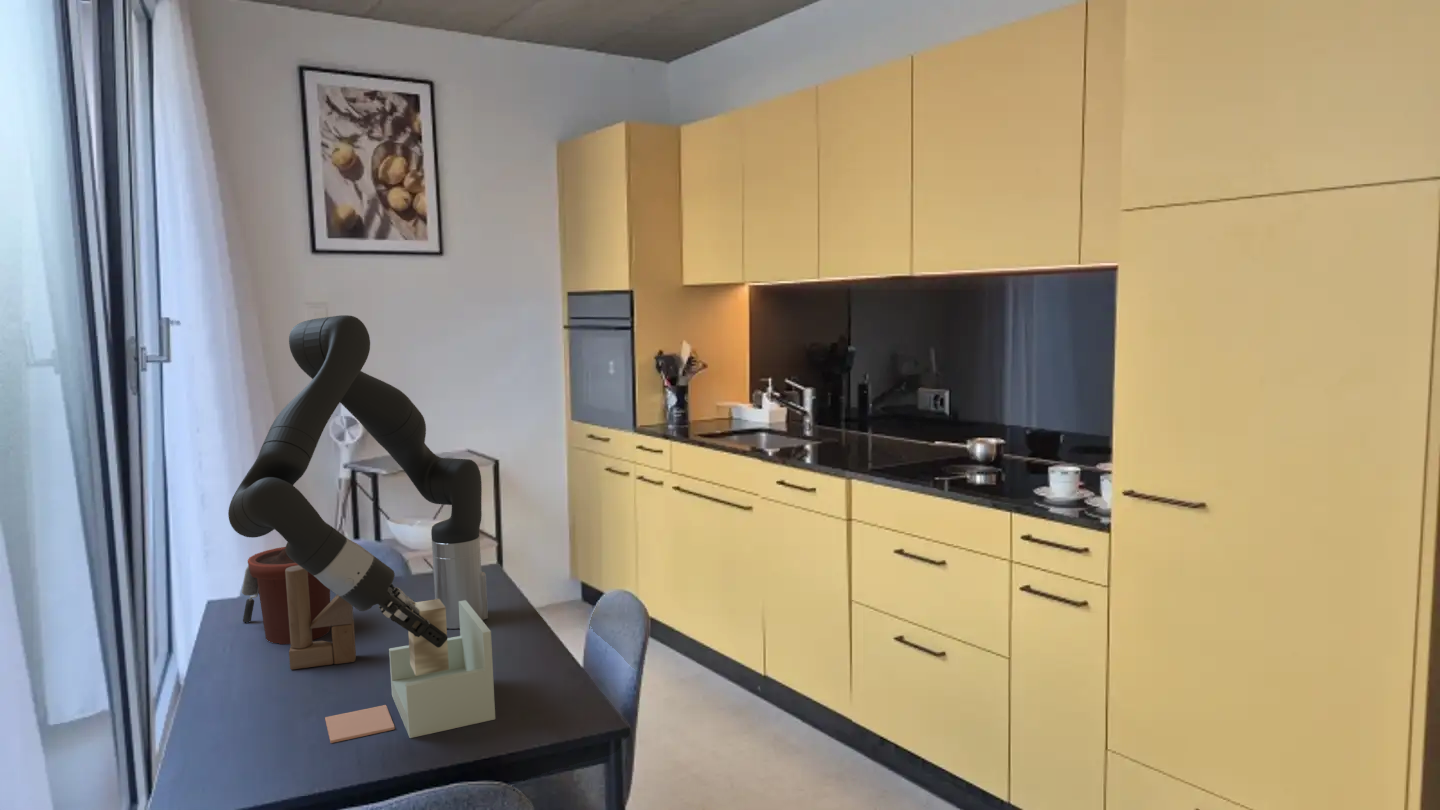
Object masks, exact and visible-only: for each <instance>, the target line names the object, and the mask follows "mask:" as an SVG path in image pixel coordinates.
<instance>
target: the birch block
mask: <svg viewBox="0 0 1440 810" xmlns="http://www.w3.org/2000/svg"><path fill="white" fill-rule="evenodd" d="M414 602H415V604H414V605H415V606H416V607H417V608H419V609H420V615H421V616H423V617H424V618H425V619H428V620H429V622H430V623H431V624H432V625H434V626H435V627H437V628H438V629H439V630H441V631H442V632H443V633H445V634H446V635H447V636H448V631H447V629H448V628H447V626H446V607H445V606H444V605H443V603H442V602H441V601H440V599H435V598H434V599H429V600H424V601H417V602H416V601H414ZM412 612H413V609H412ZM420 623H421V622H419V621H416V622H415V623H414V624H413V626H414V627H415V628H417V627H418V625H419V624H420ZM407 632H408V645H409V652H410V666H411V668H412V669H413V671H414V673H415V675H416V676H418V675H423V674H428V673H433V672H439V671H444V670H449V663H448V644H447V640H446V641H445V643H444V644H443V645H442V646H441V647H439V648H438V647H436V646H435V645H433V644H432V643H431V642H429V641H428V640H426V639H425V638H424V637H422V636H420V637H417V636H414V634H413V633H411V632H409V631H408V630H407Z"/></svg>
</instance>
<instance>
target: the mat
mask: <svg viewBox="0 0 1440 810" xmlns="http://www.w3.org/2000/svg"><path fill="white" fill-rule="evenodd" d="M324 719H325V725H326V729H327V734H328V738H329V742H330V744H334V743H339V742H343V741H348V740H351V739H356V738H361V737H365V736H369V735H375V734H380V733H384V732H389V731H392V730H393V731H394V730H395V728H396V727H395V724H394V722H393V720H392V717H391V713H390V711H389V709H388V706H387V705H386V704H384V705H378V706H374V707H369V708H364V709H359V710H353V711H349V712H345V713H339V714H335V715H329V716H325V717H324Z"/></svg>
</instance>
